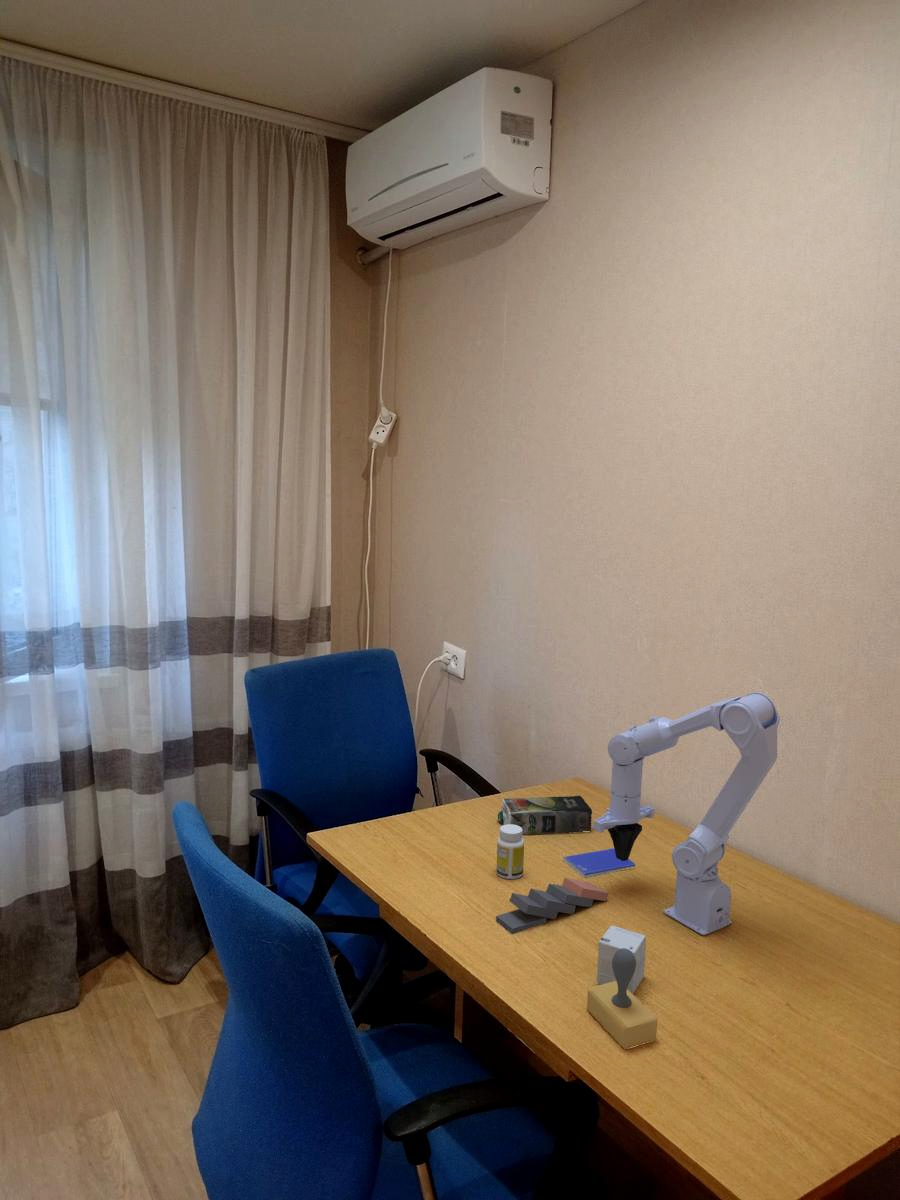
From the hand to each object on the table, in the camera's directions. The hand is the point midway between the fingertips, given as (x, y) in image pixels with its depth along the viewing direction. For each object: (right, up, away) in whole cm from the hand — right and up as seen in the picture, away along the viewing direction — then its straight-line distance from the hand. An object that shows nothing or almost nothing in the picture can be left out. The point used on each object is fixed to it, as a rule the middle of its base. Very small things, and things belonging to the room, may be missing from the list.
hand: (622, 858), depth 165 cm
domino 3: (-12, -6, -7) cm, 15 cm away
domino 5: (-5, -6, -2) cm, 8 cm away
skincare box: (-6, -11, -29) cm, 32 cm away
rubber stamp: (-8, -13, -40) cm, 43 cm away
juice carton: (-12, -2, +30) cm, 32 cm away
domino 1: (-15, -7, -9) cm, 19 cm away
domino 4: (-8, -6, -5) cm, 11 cm away
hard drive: (-3, -5, +11) cm, 13 cm away
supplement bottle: (-22, -5, +6) cm, 23 cm away
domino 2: (-18, -7, -11) cm, 22 cm away
